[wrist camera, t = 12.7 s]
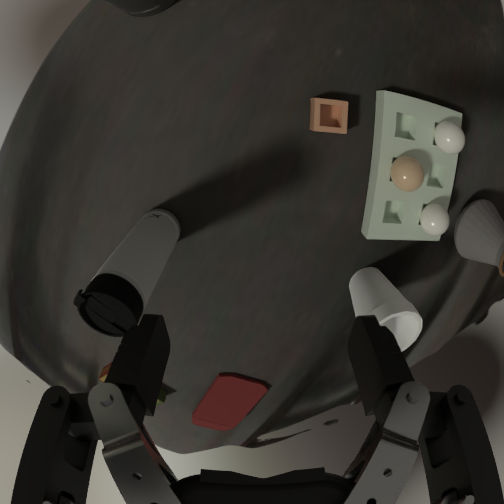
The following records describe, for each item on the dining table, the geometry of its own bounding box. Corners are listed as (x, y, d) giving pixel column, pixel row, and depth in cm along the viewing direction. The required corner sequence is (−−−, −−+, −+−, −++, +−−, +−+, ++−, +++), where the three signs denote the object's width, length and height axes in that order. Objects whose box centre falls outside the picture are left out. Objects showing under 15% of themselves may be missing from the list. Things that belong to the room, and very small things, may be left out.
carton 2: (221, 358, 60) (187, 411, 67) (221, 373, 55) (186, 425, 63) (268, 372, 62) (227, 421, 70) (270, 386, 58) (227, 435, 65)
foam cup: (339, 307, 47) (358, 364, 36) (339, 264, 42) (365, 320, 31) (387, 297, 46) (415, 349, 35) (392, 254, 42) (428, 304, 30)
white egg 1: (418, 197, 35) (435, 209, 31) (441, 200, 35) (458, 212, 31) (411, 226, 37) (426, 241, 33) (434, 228, 37) (450, 242, 33)
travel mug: (155, 197, 37) (85, 278, 20) (189, 227, 39) (145, 325, 22) (132, 226, 39) (65, 313, 22) (164, 253, 42) (117, 352, 24)
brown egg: (387, 149, 32) (403, 157, 27) (415, 155, 32) (434, 163, 27) (381, 183, 34) (397, 195, 30) (409, 187, 34) (426, 199, 30)
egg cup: (310, 98, 30) (314, 97, 28) (342, 101, 30) (348, 101, 28) (309, 129, 33) (313, 130, 30) (340, 132, 32) (346, 134, 30)
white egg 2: (429, 115, 29) (449, 119, 24) (452, 122, 29) (472, 127, 24) (426, 147, 31) (445, 154, 27) (449, 153, 31) (468, 161, 27)
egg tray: (376, 90, 29) (384, 90, 27) (452, 111, 29) (462, 113, 27) (361, 231, 40) (366, 238, 37) (431, 234, 40) (439, 240, 37)
